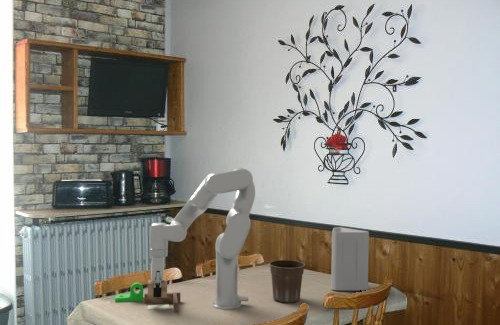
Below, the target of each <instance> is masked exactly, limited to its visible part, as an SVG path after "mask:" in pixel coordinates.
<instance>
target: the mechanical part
mask: <svg viewBox="0 0 500 325" xmlns="http://www.w3.org/2000/svg"><path fill="white" fill-rule="evenodd" d="M136 288H139V291H137V292H135V289H136ZM129 289H130V293H122V294H116V295H115V297H114V301H115V303H119V302H124V303H125V302H143V301H144V287H143V284H142V283H140V282H135V283H132V284H131V286H130V288H129Z"/></svg>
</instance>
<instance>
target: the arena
mask: <svg viewBox="0 0 500 325" xmlns="http://www.w3.org/2000/svg"><path fill="white" fill-rule="evenodd" d="M147 297H148V292H146V293H143V301H144V304H148V305H147V310H151V311H152V310H153V311H154V310H170V303H172V305H173V312H174V313H178V312H179V310H178V308H179V303H181V292H179V291H177V292H167V297H164V298H147ZM168 303H169V304H168Z"/></svg>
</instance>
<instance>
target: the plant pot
mask: <svg viewBox="0 0 500 325" xmlns="http://www.w3.org/2000/svg"><path fill="white" fill-rule="evenodd" d="M268 265H269V268H270V269H269V270H270V274H271V285H272V298H273V300H274V301H278V302H280V303H287V304H288V303H295V302H299V301H300V299H301V291H302V290H301V289H302V281H303V274H304V273H305V272H304V270H305V266H306V263H305V262H302V261H299V260H293V259H278V260H272V261H270V262H269V263H268Z"/></svg>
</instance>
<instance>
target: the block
mask: <svg viewBox="0 0 500 325" xmlns="http://www.w3.org/2000/svg"><path fill="white" fill-rule="evenodd" d="M147 293H148V297H147V298H164V297H167V293H168V280H167V279H165V280H162V281H161V297H153V294H154V280H153V281H152V280H151V279H149V280H147Z"/></svg>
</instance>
